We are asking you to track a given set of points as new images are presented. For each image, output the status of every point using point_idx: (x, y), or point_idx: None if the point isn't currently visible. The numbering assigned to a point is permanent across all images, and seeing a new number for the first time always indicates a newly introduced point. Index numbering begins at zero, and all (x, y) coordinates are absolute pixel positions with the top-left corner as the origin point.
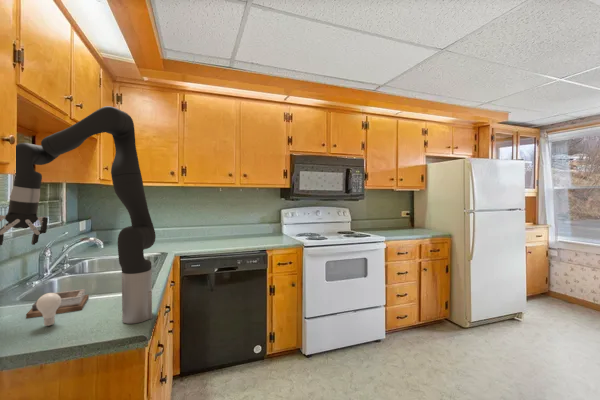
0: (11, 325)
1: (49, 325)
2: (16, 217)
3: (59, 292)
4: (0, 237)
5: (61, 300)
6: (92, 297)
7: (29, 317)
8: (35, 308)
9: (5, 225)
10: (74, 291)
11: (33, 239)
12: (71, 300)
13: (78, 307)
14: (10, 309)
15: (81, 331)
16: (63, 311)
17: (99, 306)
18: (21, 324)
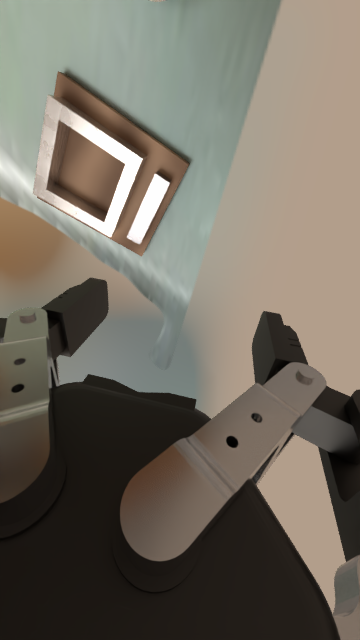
0: (228, 133)
1: None
2: (160, 622)
3: (97, 226)
4: (287, 351)
5: (102, 130)
6: None
7: (183, 159)
8: (164, 177)
9: (265, 470)
10: (61, 197)
11: (85, 296)
12: (77, 112)
13: (69, 78)
14: (190, 272)
15: None
16: (110, 107)
17: (11, 49)
18: (212, 112)
